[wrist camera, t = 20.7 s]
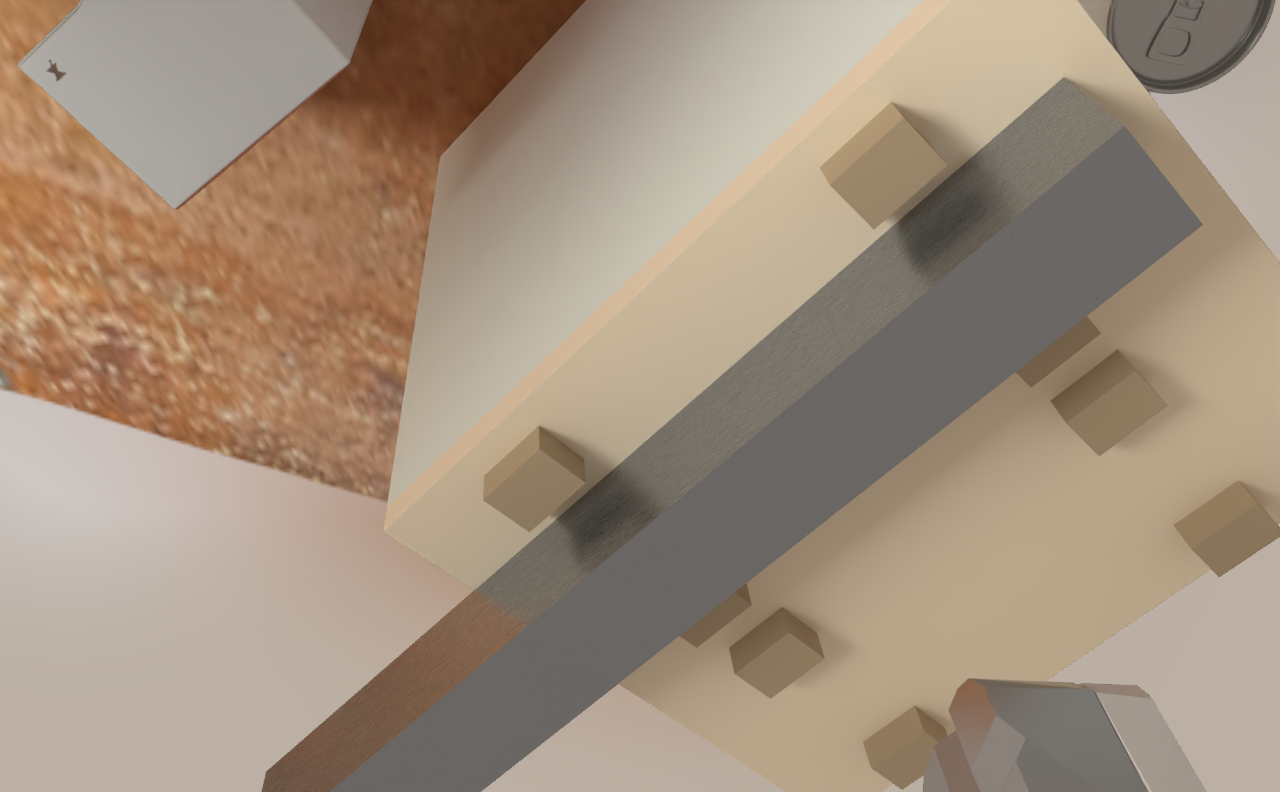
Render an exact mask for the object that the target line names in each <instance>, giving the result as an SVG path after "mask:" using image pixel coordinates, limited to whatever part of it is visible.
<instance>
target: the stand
mask: <svg viewBox="0 0 1280 792" xmlns="http://www.w3.org/2000/svg"><path fill="white" fill-rule="evenodd" d="M1063 77H1064V78H1065V79H1067V80H1068V81H1069V82H1070V83H1072V84H1073V85H1074V86H1075V87H1077V88H1078V89H1079V90H1080V91H1082V92H1083V93H1084V94H1085V95H1087V96H1088V97H1089V98H1090V99H1092V100H1093V101H1094V102H1095V103H1097V104H1098V105H1099V106H1100V107H1102V108H1103V109H1104V110H1105V111H1107V112H1108V113H1109V114H1110V115H1112V116H1113V117H1114V118H1115V119H1117V120H1118V121H1119V122H1120V123H1122V124H1123V125H1124V126H1125V127H1126V128H1127V130H1128V131H1129V132H1130V133H1131V135H1132V136H1133V137H1134V138H1135V140H1136V141H1137V142H1138V143H1139V145H1140V146H1141V147H1142V148H1143V150H1144V151H1145V152H1146V153H1147V155H1148V156H1149V157H1150V159H1151V160H1152V161H1153V162H1154V164H1155V165H1156V166H1157V167H1158V169H1159V170H1160V171H1161V172H1162V174H1163V175H1164V176H1165V177H1166V179H1167V180H1168V181H1169V182H1170V184H1171V185H1172V186H1173V187H1174V189H1175V190H1176V191H1177V192H1178V194H1179V195H1180V196H1181V198H1182V199H1183V200H1184V201H1185V203H1186V204H1187V205H1188V206H1189V208H1190V209H1191V210H1192V211H1193V213H1194V214H1195V215H1196V216H1197V218H1198V219H1199V220H1200V221H1201V223H1202V224H1203V225H1202V226H1201V227H1200V228H1198V229H1197V230H1196V231H1195V232H1193V233H1192V234H1191V235H1189V236H1188V237H1187V238H1186V239H1184V240H1183V241H1182V242H1181V243H1179V244H1178V245H1177V246H1175V247H1174V248H1173V249H1172V250H1170V251H1169V252H1168V253H1167V254H1165V255H1164V256H1163V257H1161V258H1160V259H1159V260H1158V261H1156V262H1155V263H1154V264H1152V265H1151V266H1150V267H1149V268H1147V269H1146V270H1145V271H1144V272H1142V273H1141V274H1140V275H1138V276H1137V277H1136V278H1135V279H1133V280H1132V281H1131V282H1130V283H1128V284H1127V285H1126V286H1124V287H1123V288H1122V289H1121V290H1119V291H1118V292H1117V293H1116V294H1114V295H1113V296H1112V297H1110V298H1109V299H1108V300H1107V301H1105V302H1104V303H1103V304H1102V305H1100V306H1099V307H1098V308H1096V309H1095V310H1094V311H1093V312H1091V313H1090V314H1089V315H1088V316H1086V317H1085V318H1084V319H1082V320H1081V321H1080V322H1079V323H1077V324H1076V325H1075V326H1073V327H1072V328H1071V329H1070V330H1068V331H1067V332H1066V333H1065V334H1063V335H1062V336H1061V337H1059V338H1058V339H1057V340H1056V341H1054V342H1053V343H1052V344H1051V345H1049V346H1048V347H1047V348H1045V349H1044V350H1043V351H1042V352H1040V353H1039V354H1038V355H1037V356H1035V357H1034V358H1033V359H1031V360H1030V361H1029V362H1028V363H1026V364H1025V365H1024V366H1023V367H1021V368H1020V369H1019V370H1017V371H1016V372H1015V373H1014V374H1012V375H1011V376H1010V377H1009V378H1007V379H1006V380H1005V381H1003V382H1002V383H1001V384H1000V385H998V386H997V387H996V388H994V389H993V390H992V391H991V392H989V393H988V394H987V395H986V396H984V397H983V398H982V399H980V400H979V401H978V402H977V403H975V404H974V405H973V406H972V407H970V408H969V409H968V410H966V411H965V412H964V413H963V414H961V415H960V416H959V417H958V418H956V419H955V420H954V421H952V422H951V423H950V424H949V425H947V426H946V427H945V428H944V429H942V430H941V431H940V432H938V433H937V434H936V435H935V436H933V437H932V438H931V439H929V440H928V441H927V442H926V443H924V444H923V445H922V446H921V447H919V448H918V449H917V450H915V451H914V452H913V453H912V454H910V455H909V456H908V457H907V458H905V459H904V460H903V461H901V462H900V463H899V464H898V465H896V466H895V467H894V468H893V469H891V470H890V471H889V472H887V473H886V474H885V475H884V476H882V477H881V478H880V479H879V480H877V481H876V482H875V483H873V484H872V485H871V486H870V487H868V488H867V489H866V490H865V491H863V492H862V493H861V494H859V495H858V496H857V497H856V498H854V499H853V500H852V501H850V502H849V503H848V504H847V505H845V506H844V507H843V508H842V509H840V510H839V511H838V512H836V513H835V514H834V515H833V516H831V517H830V518H829V519H828V520H826V521H825V522H824V523H822V524H821V525H820V526H819V527H817V528H816V529H815V530H814V531H812V532H811V533H810V534H808V535H807V536H806V537H805V538H803V539H802V540H801V541H800V542H798V543H797V544H796V545H794V546H793V547H792V548H791V549H789V550H788V551H787V552H786V553H784V554H783V555H782V556H780V557H779V558H778V559H777V560H775V561H774V562H773V563H771V564H770V565H769V566H768V567H766V568H765V569H764V570H763V571H761V572H760V573H759V574H757V575H756V576H755V577H754V578H752V579H751V580H750V581H749V582H747V583H746V584H745V585H743V586H742V587H741V588H740V589H738V590H737V591H736V592H735V593H733V594H732V595H731V596H729V597H728V598H727V599H726V600H724V601H723V602H722V603H721V604H719V605H718V606H717V607H715V608H714V609H713V610H712V611H710V612H709V613H708V614H706V615H705V616H704V617H703V618H701V619H700V620H699V621H698V622H696V623H695V624H694V625H692V626H691V627H690V628H689V629H687V630H686V631H685V632H684V633H682V634H681V635H680V636H678V637H677V638H676V639H675V640H673V641H672V642H671V643H670V644H668V645H667V646H666V647H664V648H663V649H662V650H661V651H659V652H658V653H657V654H656V655H654V656H653V657H652V658H650V659H649V660H648V661H647V662H645V663H644V664H643V665H642V666H640V667H639V668H638V669H636V670H635V671H634V672H633V673H631V674H630V675H629V676H627V677H626V678H625V679H624V680H622V681H621V682H620V683H619V684H620V685H621V686H623V687H624V688H626V689H627V690H629V691H631V692H632V693H634V694H635V695H637V696H638V697H640V698H641V699H643V700H645V701H646V702H648V703H649V704H651V705H652V706H654V707H655V708H657V709H658V710H660V711H662V712H663V713H665V714H666V715H668V716H669V717H671V718H672V719H674V720H676V721H677V722H679V723H680V724H682V725H684V726H685V727H686V728H688V729H690V730H691V731H693V732H694V733H696V734H697V735H699V736H701V737H702V738H703V739H705V740H707V741H708V742H710V743H711V744H713V745H714V746H716V747H717V748H719V749H721V750H722V751H724V752H725V753H727V754H728V755H730V756H731V757H733V758H734V759H736V760H738V761H739V762H741V763H742V764H744V765H745V766H747V767H749V768H750V769H752V770H753V771H755V772H756V773H758V774H759V775H761V776H762V777H764V778H765V779H767V780H769V781H770V782H772V783H773V784H775V785H776V786H778V787H779V788H781V789H783V790H784V791H786V792H882V791H883V790H884V789H886V788H888V787H889V786H890V785H892V784H895V785H896V786H898V787H899V788H900V789H904V788H905V787H907V786H908V785H910V784H911V783H913V782H914V781H916V780H917V779H919V778H920V777H922V776H923V775H924V772H925V769H926V767H927V764H928V761H929V758H930V755H931V752H932V750H933V747H934V746H935V745H936V744H937V743H939V742H940V741H942V740H943V739H944V738H946V737H947V736H949V735H950V734H951V733H953V732H954V731H956V729H955V726H954V724H953V721H952V718H951V715H950V713H949V707H950V705H951V703H952V700H953V698H954V696H955V693H956V691H957V689H958V688H959V687H960V686H961V685H962V684H963V683H964V682H965V681H966V680H967V679H968V678H975V679H997V680H1020V681H1043V682H1045V681H1046V680H1048V679H1049V678H1051V677H1052V676H1054V675H1055V674H1057V673H1058V672H1059V671H1061V670H1062V669H1064V668H1065V667H1067V666H1068V665H1070V664H1071V663H1073V662H1074V661H1076V660H1077V659H1079V658H1080V657H1082V656H1083V655H1085V654H1086V653H1088V652H1089V651H1091V650H1092V649H1094V648H1095V647H1097V646H1098V645H1099V644H1101V643H1103V642H1104V641H1105V640H1107V639H1108V638H1110V637H1111V636H1113V635H1114V634H1116V633H1117V632H1119V631H1120V630H1122V629H1123V628H1125V627H1126V626H1128V625H1129V624H1131V623H1132V622H1134V621H1135V620H1137V619H1138V618H1139V617H1141V616H1142V615H1144V614H1146V613H1147V612H1148V611H1150V610H1151V609H1153V608H1154V607H1156V606H1157V605H1159V604H1160V603H1162V602H1163V601H1165V600H1166V599H1168V598H1169V597H1171V596H1172V595H1174V594H1175V593H1177V592H1178V591H1180V590H1181V589H1182V588H1184V587H1185V586H1187V585H1188V584H1190V583H1191V582H1193V581H1194V580H1196V579H1197V578H1199V577H1200V576H1202V575H1203V574H1205V573H1206V572H1208V571H1209V570H1211V569H1212V570H1213V571H1214V572H1215V573H1216V574H1217V575H1218V576H1219V577H1220V576H1222V575H1223V574H1225V573H1226V572H1228V571H1229V570H1231V569H1232V568H1234V567H1235V566H1237V565H1238V564H1240V563H1241V562H1242V561H1244V560H1246V559H1247V558H1248V557H1250V556H1252V555H1253V554H1255V553H1256V552H1257V551H1259V550H1260V549H1262V548H1263V547H1265V546H1266V545H1268V544H1269V543H1271V542H1272V541H1274V540H1275V539H1277V538H1278V537H1280V527H1279V526H1278V525H1277V524H1279V523H1280V263H1279V261H1278V260H1277V259H1276V257H1275V256H1274V255H1273V253H1272V252H1271V251H1270V250H1269V248H1268V247H1267V246H1266V245H1265V243H1264V242H1263V241H1262V239H1261V238H1260V237H1259V235H1258V234H1257V233H1256V231H1255V230H1254V229H1253V228H1252V226H1251V225H1250V224H1249V222H1248V221H1247V220H1246V218H1245V217H1244V216H1243V215H1242V213H1241V212H1240V211H1239V209H1238V208H1237V207H1236V206H1235V204H1234V203H1233V202H1232V200H1231V199H1230V198H1229V197H1228V195H1227V194H1226V193H1225V191H1224V190H1223V189H1222V187H1221V186H1220V185H1219V184H1218V182H1217V181H1216V180H1215V178H1214V177H1213V176H1212V174H1211V173H1210V172H1209V171H1208V169H1207V168H1206V167H1205V165H1204V164H1203V163H1202V162H1201V160H1200V159H1199V158H1198V157H1197V155H1196V154H1195V153H1194V151H1193V150H1192V149H1191V147H1190V146H1189V145H1188V143H1187V142H1186V141H1185V140H1184V138H1183V137H1182V136H1181V134H1180V133H1179V132H1178V130H1177V129H1176V128H1175V127H1174V125H1173V124H1172V123H1171V121H1170V120H1169V119H1168V118H1167V116H1166V115H1165V114H1164V112H1163V111H1162V110H1161V108H1160V107H1159V106H1158V105H1157V103H1156V102H1155V101H1154V99H1153V98H1152V97H1151V96H1150V94H1149V93H1148V92H1147V90H1146V89H1145V88H1144V86H1143V85H1142V84H1141V83H1140V81H1139V80H1138V79H1137V77H1136V76H1135V75H1134V74H1133V72H1132V71H1131V70H1130V68H1129V67H1128V66H1127V64H1126V63H1125V62H1124V61H1123V59H1122V58H1121V57H1120V55H1119V54H1118V53H1117V51H1116V50H1115V49H1114V48H1113V46H1112V45H1111V44H1110V42H1109V41H1108V40H1107V39H1106V37H1105V36H1104V35H1103V33H1102V32H1101V31H1100V29H1099V28H1098V27H1097V26H1096V24H1095V23H1094V22H1093V20H1092V19H1091V18H1090V17H1089V15H1088V14H1087V13H1086V11H1085V10H1084V9H1083V7H1082V6H1081V5H1080V4H1079V2H1078V1H1077V0H586V1H585V2H584V3H583V4H582V5H581V6H580V7H579V8H578V9H577V10H576V11H575V12H574V14H573V15H572V16H571V17H570V18H569V19H568V20H567V21H566V22H565V23H564V24H563V25H562V26H561V27H560V29H559V30H558V31H557V32H556V33H555V34H554V35H553V36H552V37H551V38H550V39H549V40H548V41H547V43H546V44H545V45H544V46H543V47H542V48H541V49H540V50H539V51H538V52H537V53H536V54H535V55H534V56H533V58H532V59H531V60H530V61H529V62H528V63H527V64H526V65H525V66H524V67H523V68H522V69H521V70H520V71H519V73H518V74H517V75H516V76H515V77H514V78H513V79H512V80H511V81H510V82H509V83H508V84H507V85H506V86H505V88H504V89H503V90H502V91H501V92H500V93H499V94H498V95H497V96H496V97H495V98H494V99H493V100H492V101H491V103H490V104H489V105H488V106H487V107H486V108H485V109H484V110H483V111H482V112H481V113H480V114H479V115H478V116H477V118H476V119H475V120H474V121H473V122H472V123H471V124H470V125H469V126H468V127H467V128H466V129H465V130H464V132H463V133H462V134H461V135H460V136H459V137H458V138H457V139H456V140H455V141H454V142H453V143H452V144H451V145H450V147H449V148H448V149H447V150H446V151H445V152H444V153H443V154H442V155H441V156H440V161H439V168H438V174H437V181H436V188H435V194H434V201H433V207H432V214H431V220H430V227H429V234H428V240H427V247H426V253H425V260H424V266H423V273H422V279H421V286H420V293H419V299H418V306H417V312H416V319H415V325H414V332H413V339H412V345H411V352H410V358H409V365H408V371H407V378H406V385H405V391H404V398H403V404H402V411H401V417H400V424H399V430H398V437H397V444H396V450H395V457H394V463H393V470H392V476H391V483H390V490H389V496H388V503H387V509H386V517H385V522H384V530H383V532H384V533H385V534H387V535H389V536H390V537H392V538H393V539H395V540H396V541H398V542H399V543H401V544H403V545H404V546H406V547H407V548H409V549H410V550H412V551H413V552H415V553H416V554H418V555H420V556H421V557H423V558H424V559H426V560H428V561H429V562H431V563H432V564H433V565H435V566H437V567H438V568H440V569H441V570H443V571H444V572H446V573H447V574H449V575H451V576H452V577H454V578H455V579H457V580H458V581H460V582H461V583H463V584H465V585H466V586H468V587H469V588H471V589H473V590H475V589H477V588H478V587H479V586H480V585H481V584H482V583H483V582H485V581H486V580H487V579H488V578H489V577H490V576H491V575H493V574H494V573H495V572H496V571H497V570H498V569H500V568H501V567H502V566H503V565H504V564H505V563H506V562H508V561H509V560H510V559H511V558H512V557H513V556H514V555H516V554H517V553H518V552H519V551H520V550H521V549H522V548H524V547H525V546H526V545H527V544H528V543H529V542H531V541H532V540H533V539H534V538H535V537H536V536H537V535H539V534H540V533H541V532H542V531H543V530H544V529H545V528H547V527H548V526H549V525H550V524H551V523H552V522H553V521H555V520H556V519H557V518H558V517H559V516H560V515H562V514H563V513H564V512H565V511H566V510H567V509H568V508H570V507H571V506H572V505H573V504H574V503H575V502H576V501H578V500H579V499H580V498H581V497H582V496H583V495H584V494H586V493H587V492H588V491H589V490H590V489H591V488H593V487H594V486H595V485H596V484H597V483H598V482H599V481H601V480H602V479H603V478H604V477H605V476H606V475H607V474H609V473H610V472H611V471H612V470H613V469H614V468H615V467H617V466H618V465H619V464H620V463H621V462H622V461H624V460H625V459H626V458H627V457H628V456H629V455H630V454H632V453H633V452H634V451H635V450H636V449H637V448H638V447H640V446H641V445H642V444H643V443H644V442H645V441H646V440H648V439H649V438H650V437H651V436H652V435H653V434H655V433H656V432H657V431H658V430H659V429H660V428H661V427H663V426H664V425H665V424H666V423H667V422H668V421H669V420H671V419H672V418H673V417H674V416H675V415H676V414H677V413H679V412H680V411H681V410H682V409H683V408H684V407H686V406H687V405H688V404H689V403H690V402H691V401H692V400H694V399H695V398H696V397H697V396H698V395H699V394H700V393H702V392H703V391H704V390H705V389H706V388H707V387H708V386H710V385H711V384H712V383H713V382H714V381H715V380H717V379H718V378H719V377H720V376H721V375H722V374H723V373H725V372H726V371H727V370H728V369H729V368H730V367H731V366H733V365H734V364H735V363H736V362H737V361H738V360H739V359H741V358H742V357H743V356H744V355H745V354H746V353H748V352H749V351H750V350H751V349H752V348H753V347H754V346H756V345H757V344H758V343H759V342H760V341H761V340H762V339H764V338H765V337H766V336H767V335H768V334H769V333H770V332H772V331H773V330H774V329H775V328H776V327H777V326H779V325H780V324H781V323H782V322H783V321H784V320H785V319H787V318H788V317H789V316H790V315H791V314H792V313H793V312H795V311H796V310H797V309H798V308H799V307H800V306H801V305H803V304H804V303H805V302H806V301H807V300H808V299H810V298H811V297H812V296H813V295H814V294H815V293H816V292H818V291H819V290H820V289H821V288H822V287H823V286H824V285H826V284H827V283H828V282H829V281H830V280H831V279H832V278H834V277H835V276H836V275H837V274H838V273H839V272H841V271H842V270H843V269H844V268H845V267H846V266H847V265H849V264H850V263H851V262H852V261H853V260H854V259H855V258H857V257H858V256H859V255H860V254H861V253H862V252H863V251H865V250H866V249H867V248H868V247H869V246H870V245H872V244H873V243H874V242H875V241H876V240H877V239H878V238H880V237H881V236H882V235H883V234H884V233H885V232H886V231H888V230H889V229H890V228H891V227H892V226H893V225H894V224H896V223H897V222H898V221H899V220H900V219H901V218H902V217H904V216H905V215H906V214H907V213H908V212H909V211H911V210H912V209H913V208H914V207H915V206H916V205H917V204H919V203H920V202H921V201H922V200H923V199H924V198H925V197H927V196H928V195H929V194H930V193H931V192H932V191H933V190H935V189H936V188H937V187H938V186H939V185H940V184H942V183H943V182H944V181H945V180H946V179H947V178H948V177H950V176H951V175H952V174H953V173H954V172H955V171H956V170H958V169H959V168H960V167H961V166H962V165H963V164H964V163H966V162H967V161H968V160H969V159H970V158H971V157H973V156H974V155H975V154H976V153H977V152H978V151H979V150H981V149H982V148H983V147H984V146H985V145H986V144H987V143H989V142H990V141H991V140H992V139H993V138H994V137H995V136H997V135H998V134H999V133H1000V132H1001V131H1002V130H1004V129H1005V128H1006V127H1007V126H1008V125H1009V124H1010V123H1012V122H1013V121H1014V120H1015V119H1016V118H1017V117H1018V116H1020V115H1021V114H1022V113H1023V112H1024V111H1025V110H1026V109H1028V108H1029V107H1030V106H1031V105H1032V104H1033V103H1035V102H1036V101H1037V100H1038V99H1039V98H1040V97H1041V96H1043V95H1044V94H1045V93H1046V92H1047V91H1048V90H1049V89H1051V88H1052V87H1053V86H1054V85H1055V84H1056V83H1057V82H1059V81H1060V80H1061V79H1062V78H1063Z"/></svg>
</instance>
